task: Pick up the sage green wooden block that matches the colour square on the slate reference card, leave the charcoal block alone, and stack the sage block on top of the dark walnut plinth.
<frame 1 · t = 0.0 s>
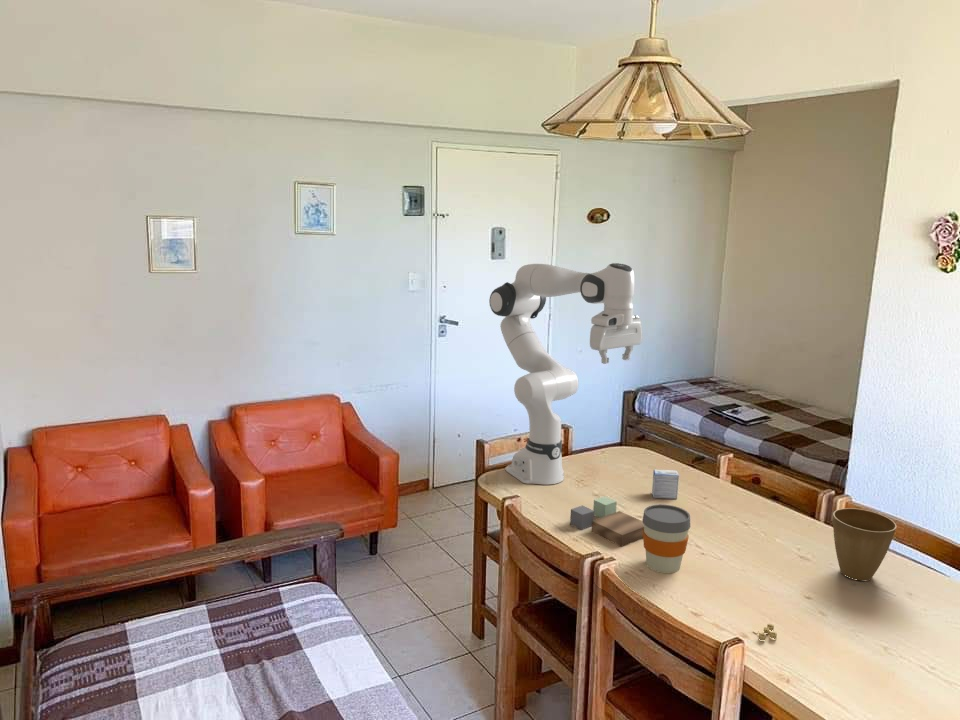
hand: (615, 361, 229), 48 cm above the table, fingers open, 8 cm apart
sage block: (604, 515, 232), on the table
reusable coffee cup: (663, 565, 201), on the table
walnut plinth: (620, 535, 220), on the table
charcoal block: (581, 525, 225), on the table
plant pot: (856, 575, 197), on the table
medicine box: (664, 496, 248), on the table
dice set: (765, 639, 169), on the table
reference card: (664, 529, 223), on the table
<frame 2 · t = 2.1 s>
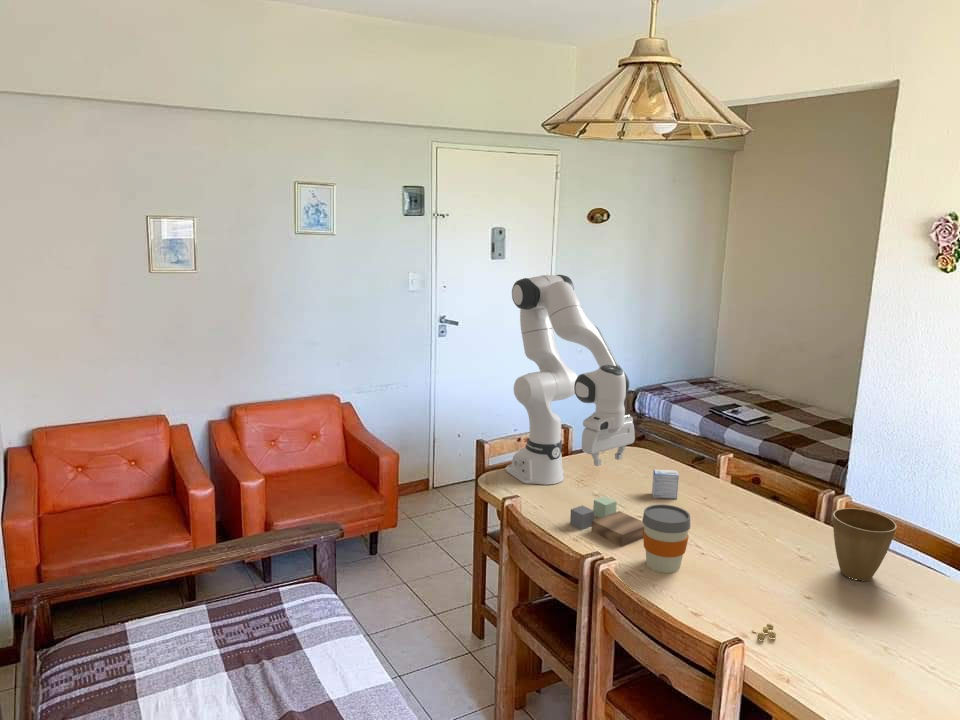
hand: (608, 462, 228), 18 cm above the table, fingers open, 8 cm apart
nothing on the table moved.
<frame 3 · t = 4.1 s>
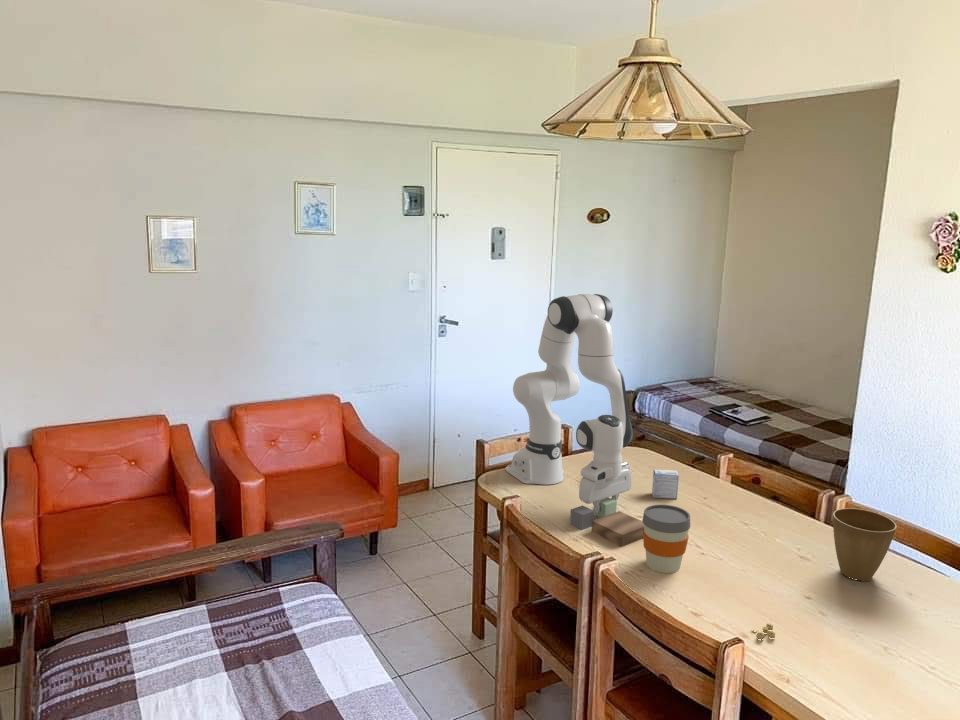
hand: (604, 509, 232), 2 cm above the table, fingers closed on sage block, 5 cm apart
sage block: (604, 515, 232), on the table, touching gripper
everything else where it was.
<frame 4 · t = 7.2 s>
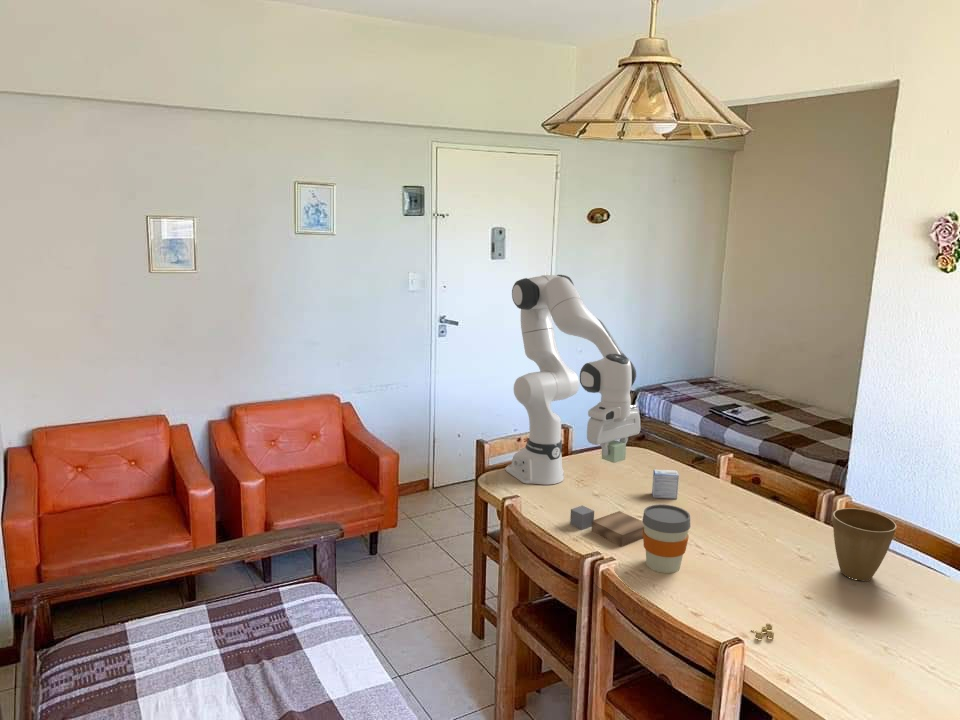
hand: (613, 453, 224), 22 cm above the table, fingers closed on sage block, 5 cm apart
sage block: (613, 459, 224), point 20 cm above the table, touching gripper
everything else where it was.
when the fingers open (7 cm above the table, at t = 10.8 s): sage block drops 2 cm, resting on walnut plinth.
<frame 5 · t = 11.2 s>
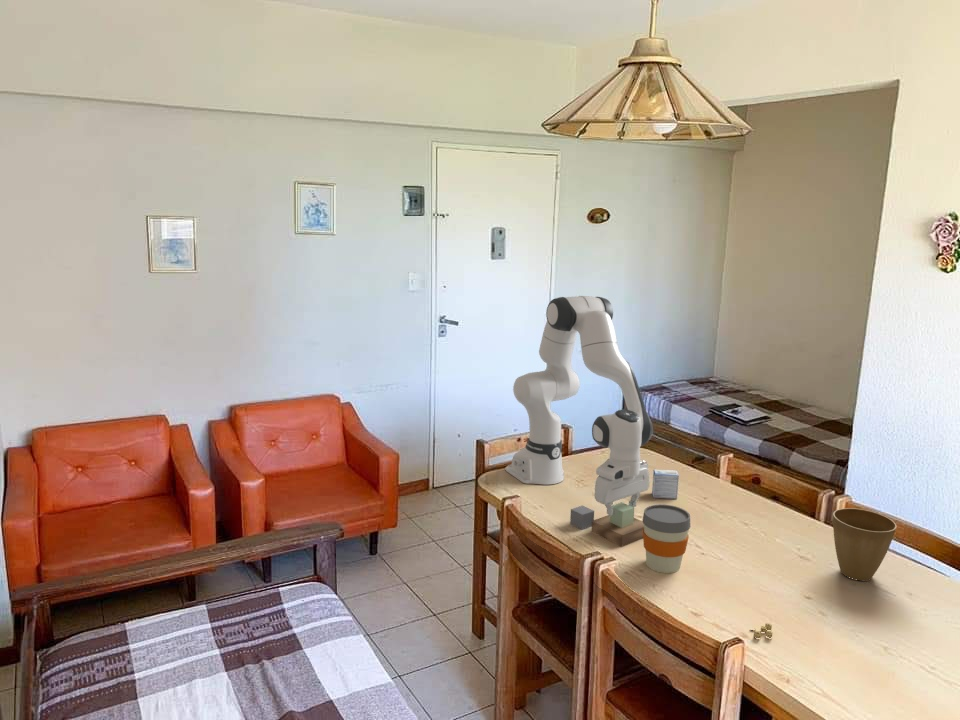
hand: (621, 510, 218), 7 cm above the table, fingers open, 8 cm apart
sage block: (621, 522, 219), point 4 cm above the table, touching walnut plinth
walnut plinth: (620, 535, 220), on the table, touching sage block
everything else where it was.
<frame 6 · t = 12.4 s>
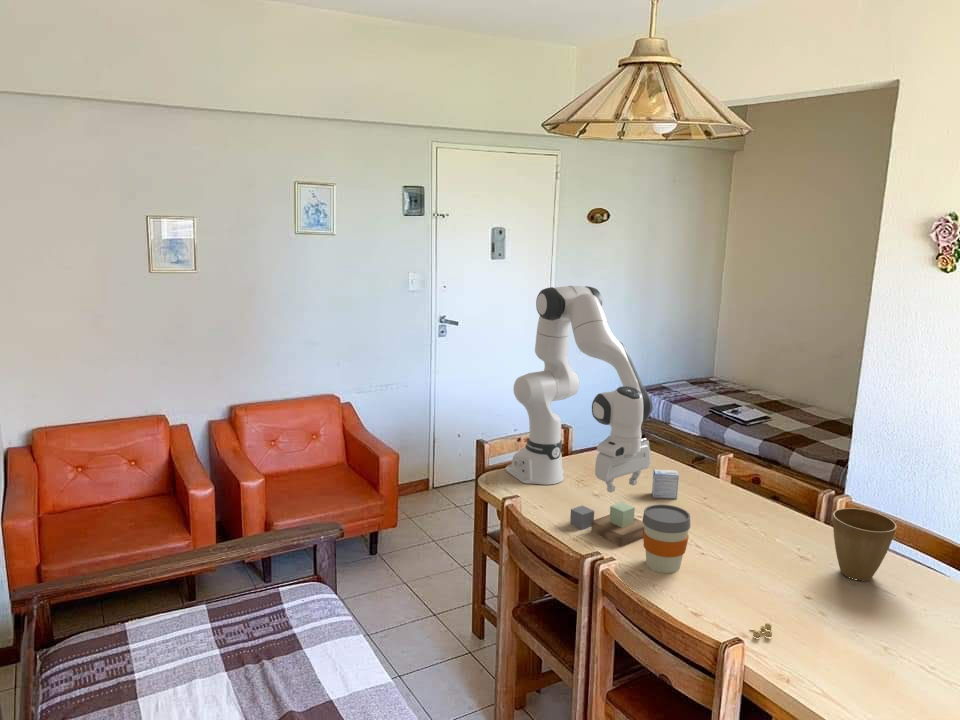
hand: (621, 487, 217), 14 cm above the table, fingers open, 8 cm apart
nothing on the table moved.
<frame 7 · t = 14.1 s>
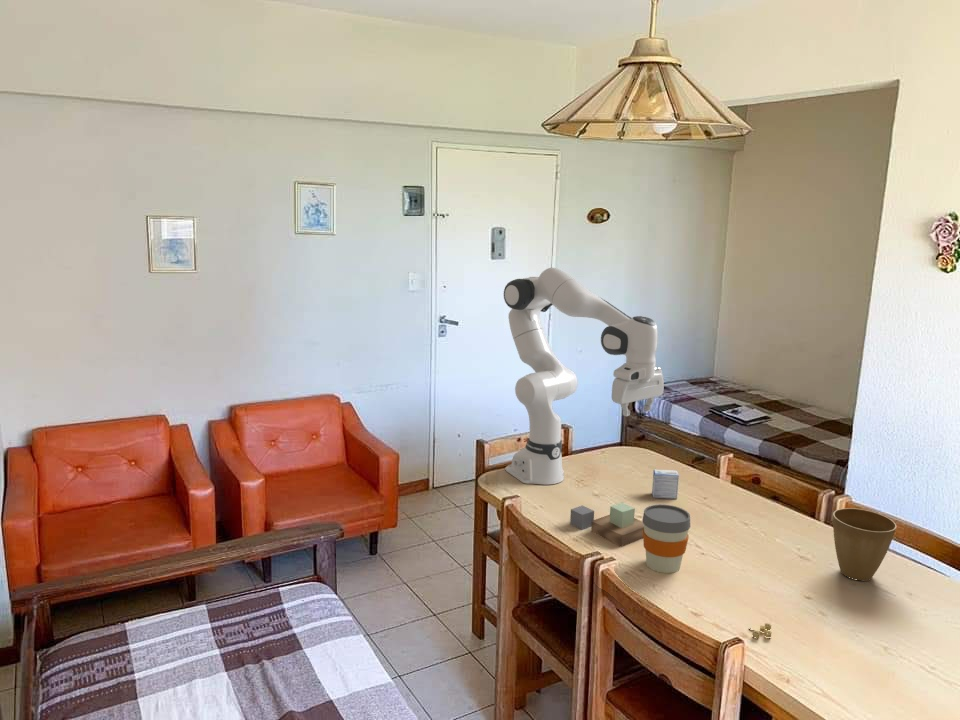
hand: (636, 413, 229), 32 cm above the table, fingers open, 8 cm apart
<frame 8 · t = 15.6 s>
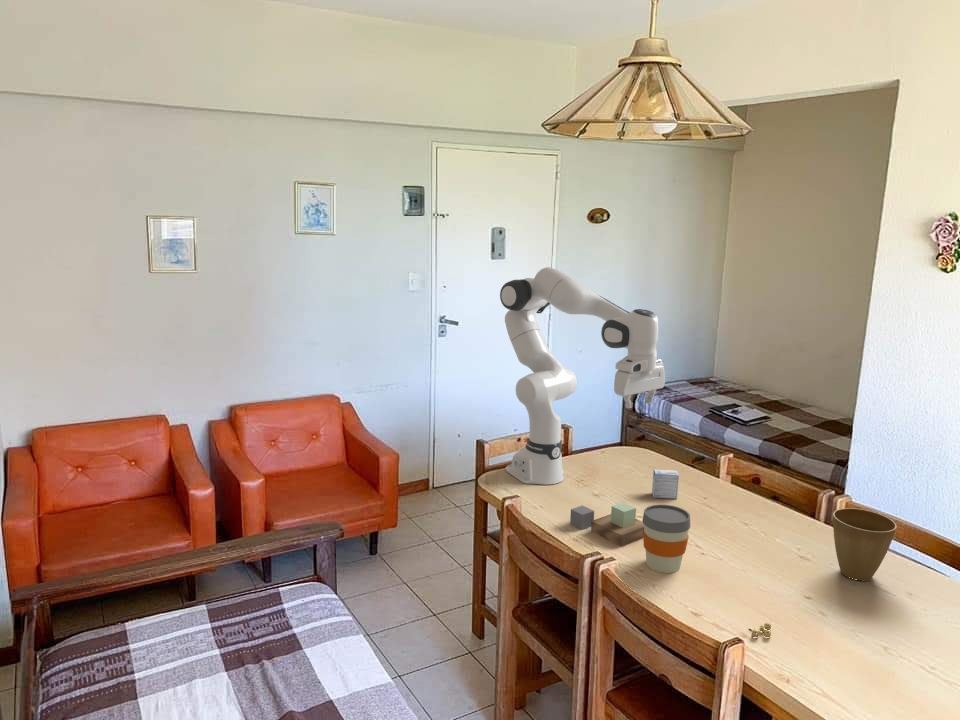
hand: (638, 405, 231), 34 cm above the table, fingers open, 8 cm apart
at the end: sage block inside the target area on the walnut plinth (0.6 cm from its centre), point 4.0 cm above the walnut plinth's base; sage block tilted 0°; the gripper is holding nothing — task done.
